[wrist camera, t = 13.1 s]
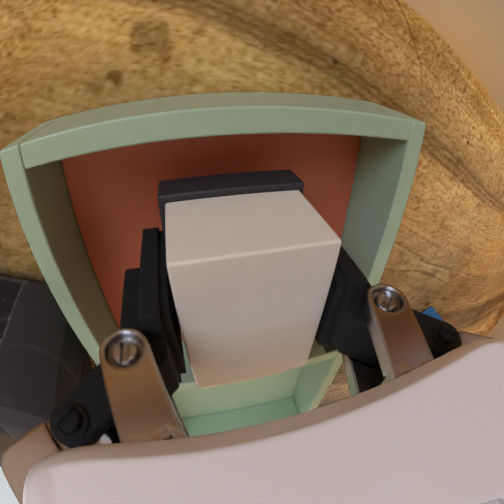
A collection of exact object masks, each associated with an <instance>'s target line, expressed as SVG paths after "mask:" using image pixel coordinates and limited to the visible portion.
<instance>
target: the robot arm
mask: <svg viewBox="0 0 504 504" xmlns="http://www.w3.org/2000/svg"><path fill="white" fill-rule="evenodd" d="M315 340H316V342H317V343H318V345H319V346H322V345H323V347H324V349H325V351H326V353H327V352H331V351H334V350H338V352H339V353H341V354H342V359H343V364H344V368H345V372H346V377H347V381H348V385H349V390H350V394H351V397H349V398H346V399H344V400H341V401H338V402H335V403H332V404H329V405H326V406H323V407H320V408H317V409H314V410H311V411H307V412H304V413H301V414H297V415H294V416H290V417H287V418H283V419H279V420H275V421H271V422H267V423H263V424H259V425H254V426H250V427H245V428H240V429H235V430H230V431H225V432H219V433H213V434H207V435H200V436H193V437H191V436H190V434H189V432H188V430H187V428H186V425H185V423H184V421H183V419H182V416H181V414H180V412H179V410H178V407H177V405H176V403H175V400H174V398H173V394H174V393H175V391H176V390H177V389H178V388H179V383H182V380H181V374H184V373H186V366H185V359H184V352H183V345H182V337H181V329H180V324H179V320H178V316H177V312H176V307H175V303H174V299H173V294H172V290H171V285H170V281H169V276H168V271H167V266H166V243H165V239H164V236H163V231H160V230H159V227H155V228H148V229H143V234H142V245H141V257H140V268H133V269H126V271H125V276H124V286H123V296H122V307H121V321H120V329H118V330H116V331H114V332H112V333H110V334H109V335H108V336H107V337H105V339H104V340H103V342H102V343H101V346H100V348H99V359H100V364H99V365H98V366H96V367H95V368H94V369H93V370H92V371H91V372H90V373H89V374H88V375H87V376H86V377H85V378H84V379H83V380H82V381H81V382H80V383H79V384H78V385H77V386H76V387H75V388H74V389H73V390H72V391H71V392H70V393H69V394H67V395H66V396H65V397H64V398H63V399H62V400H61V401H60V402H59V403H58V404H57V405H56V407H55V408H54V409H53V411H52V414H51V416H50V421H49V422H47V423H46V424H45V423H44V422H41V423H40V424H38V425H37V426H36V427H34V428H33V429H31V430H30V431H29V432H27V433H26V434H24V435H23V436H21V437H20V438H19V439H17V440H16V441H14V442H13V443H11V444H10V445H9V446H7V447H6V448H5V449H4V450H3V452H2V455H1V467H2V470H3V472H4V475H5V477H6V479H7V481H8V483H9V485H10V487H11V489H12V491H13V492H14V494H15V496H16V498H17V500H18V501H19V503H20V504H504V340H502V339H494V338H491V337H487V336H482V335H478V334H473V333H469V332H464V331H459V332H458V331H457V330H456V329H455V328H454V327H453V326H452V325H450V324H448V323H447V322H444V321H442V320H439V319H436V318H434V317H431V316H428V315H426V314H423V313H421V312H418V311H415V310H413V309H411V307H410V305H409V303H408V301H407V299H406V297H405V296H404V294H403V293H402V292H401V291H400V290H399V289H397V288H395V287H394V286H391V285H388V284H375V285H373V286H371V284H370V283H369V282H368V279H367V278H366V277H365V275H364V274H363V273H362V272H361V270H360V269H359V268H358V266H357V265H356V264H355V262H354V261H353V260H352V259H351V257H350V256H349V255H348V253H347V252H346V251H345V250H344V248H343V247H342V246H341V248H340V252H339V256H338V259H337V263H336V267H335V271H334V275H333V278H332V282H331V286H330V289H329V293H328V296H327V300H326V303H325V306H324V310H323V313H322V316H321V320H320V323H319V326H318V329H317V332H316V336H315Z"/></svg>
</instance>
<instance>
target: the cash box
mask: <svg viewBox="0 0 504 504" xmlns="http://www.w3.org/2000/svg"><path fill="white" fill-rule="evenodd" d="M90 372H91V368H90V362H89V357H88V352H87V351H86V349H85V348H84V346H83V345H82V343H81V342H80V340H79V338H78V337H77V335H76V334H75V332H74V330H73V329H72V327H71V326H70V324H69V322H68V321H67V319H66V317H65V315H64V314H63V312H62V310H61V308H60V307H59V305H58V303H57V301H56V299H55V298H54V296H53V294H52V292H51V290H50V288H49V286H48V284H46V283H40V282H34V281H28V280H23V279H17V278H11V277H6V276H1V275H0V466H1V455H2V452H3V450H4V449H5V448H6V447H7V446H9V445H10V444H11V443H13V442H14V441H16V440H17V439H19V438H20V437H21V436H23V435H24V434H26V433H27V432H29V431H30V430H31V429H33V428H34V427H36V426H37V425H38V424H40V423H41V422H44V423H45V424H46V423H47V422H49V421H50V416H51V414H52V411H53V409H54V408H55V407H56V405H57V404H58V403H59V402H60V401H61V400H62V399H63V398H64V397H65V396H66V395H67V394H69V393H70V392H71V391H72V390H73V389H74V388H75V387H76V386H77V385H78V384H79V383H80V382H81V381H82V380H83V379H84V378H85V377H86V376H87V375H88V374H89V373H90Z"/></svg>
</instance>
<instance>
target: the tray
mask: <svg viewBox="0 0 504 504" xmlns="http://www.w3.org/2000/svg"><path fill="white" fill-rule="evenodd" d="M425 127H426V124H425V123H424V122H422V121H420V120H417V119H415V118H413V117H410V116H408V115H405V114H403V113H400V112H398V111H395V110H392V109H390V108H387V107H384V106H382V105H379V104H376V103H373V102H370V101H363V100H357V99H349V98H341V97H333V96H323V95H312V94H298V93H277V92H225V93H205V94H191V95H179V96H170V97H161V98H153V99H146V100H139V101H133V102H127V103H121V104H116V105H110V106H105V107H101V108H96V109H92V110H87V111H83V112H79V113H75V114H71V115H67V116H63V117H60V118H56V119H53V120H49V121H46V122H43V123H42V124H40V125H39V126H37V127H35V128H34V129H32V130H30V131H29V132H27V133H26V134H24V135H23V136H21V137H20V138H18V139H17V140H15V141H14V142H12V143H11V144H9V145H8V146H6V147H5V148H4V149H2V150H1V151H0V158H1V162H2V166H3V170H4V173H5V177H6V181H7V184H8V187H9V191H10V194H11V197H12V200H13V203H14V206H15V209H16V212H17V215H18V217H19V220H20V223H21V226H22V228H23V231H24V233H25V236H26V238H27V241H28V243H29V245H30V248H31V250H32V252H33V255H34V257H35V259H36V261H37V264H38V266H39V268H40V270H41V272H42V274H43V276H44V278H45V280H46V282H47V284H48V286H49V288H50V290H51V292H52V294H53V296H54V298H55V299H56V301H57V303H58V305H59V307H60V308H61V310H62V312H63V314H64V315H65V317H66V319H67V321H68V322H69V324H70V326H71V327H72V329H73V330H74V332H75V334H76V335H77V337H78V338H79V340H80V342H81V343H82V345H83V346H84V348H85V349H86V351H87V352H88V354H89V355H90V357H91V358H92V359H93V361H94V362H95V364H96V365H97V366H98V365H99V364H100V359H99V348H100V346H101V343H102V342H103V340H104V339H105V337H107V336H108V335H109V334H110V333H112V332H114V331H116V330H118V329H120V321H121V307H122V296H123V286H124V276H125V271H126V269H133V268H140V257H141V245H142V234H143V229H148V228H155V227H159V230H160V231H163V230H162V224H161V218H160V211H159V205H158V184H159V181H164V180H171V179H179V178H188V177H197V176H207V175H217V174H228V173H240V172H254V171H270V170H292V171H293V172H294V173H295V174H296V175H297V176H298V177H299V178H300V179H301V180H302V181H303V182H304V191H303V196H304V197H305V198H306V199H307V200H308V201H309V203H310V204H311V205H312V206H313V207H314V208H315V209H316V211H317V212H318V213H319V214H320V215H321V216H322V218H323V219H324V220H325V221H326V222H327V223H328V225H329V226H330V227H331V228H332V229H333V231H334V232H335V233H336V234H337V235H338V237H339V238H340V239H341V242H342V244H341V246H342V247H343V248H344V250H345V251H346V252H347V253H348V255H349V256H350V257H351V259H352V260H353V261H354V262H355V264H356V265H357V266H358V268H359V269H360V270H361V272H362V273H363V274H364V275H365V277H366V278H367V279H368V282H369V283H370V284H371V286H373V285H375V284H379V281H380V279H381V276H382V274H383V271H384V268H385V266H386V263H387V261H388V258H389V255H390V252H391V250H392V247H393V244H394V241H395V238H396V235H397V232H398V229H399V226H400V223H401V220H402V217H403V214H404V211H405V207H406V204H407V201H408V197H409V194H410V190H411V187H412V183H413V179H414V175H415V172H416V168H417V164H418V160H419V155H420V151H421V147H422V142H423V137H424V132H425ZM180 329H181V328H180ZM181 337H182V345H183V352H184V359H185V366H186V373H184V374H181V380H182V383H179V388H178V389H177V390H176V391H175V393H174V394H173V398H174V400H175V403H176V405H177V407H178V410H179V412H180V414H181V416H182V419H183V421H184V423H185V425H186V428H187V430H188V432H189V434H190V436H191V437H193V436H200V435H207V434H213V433H219V432H225V431H230V430H235V429H240V428H245V427H250V426H254V425H259V424H263V423H267V422H271V421H275V420H279V419H283V418H287V417H290V416H294V415H297V414H301V413H304V412H307V411H311V410H314V409H316V408H317V407H318V405H319V403H320V402H321V400H322V398H323V397H324V395H325V393H326V391H327V390H328V388H329V386H330V384H331V382H332V381H333V379H334V377H335V375H336V373H337V371H338V369H339V368H340V366H341V364H342V362H343V359H342V354H341V353H339V352H338V350H334V351H331V352H327V353H326V351H325V349H324V347H323V345H322V346H319V345H318V343H317V342H316V340H315V339H314V342H313V345H312V348H311V351H310V354H309V357H308V360H307V363H306V365H305V366H302V367H298V368H295V369H291V370H287V371H283V372H282V373H279V374H275V375H271V376H266V377H262V378H257V379H252V380H248V381H243V382H237V383H232V384H227V385H221V386H215V387H209V388H203V387H201V388H198V387H197V386H196V383H195V379H194V376H193V373H192V369H191V366H190V362H189V358H188V355H187V351H186V347H185V344H184V340H183V336H182V332H181Z"/></svg>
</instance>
